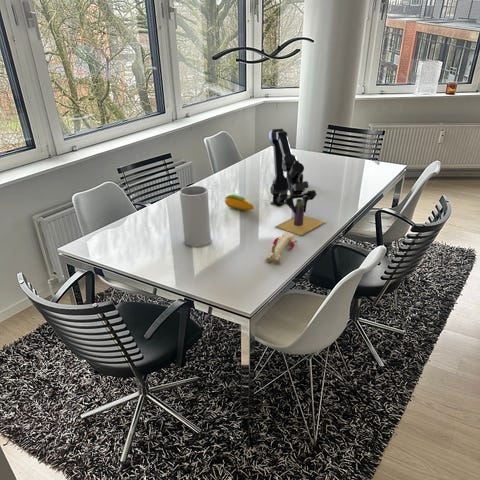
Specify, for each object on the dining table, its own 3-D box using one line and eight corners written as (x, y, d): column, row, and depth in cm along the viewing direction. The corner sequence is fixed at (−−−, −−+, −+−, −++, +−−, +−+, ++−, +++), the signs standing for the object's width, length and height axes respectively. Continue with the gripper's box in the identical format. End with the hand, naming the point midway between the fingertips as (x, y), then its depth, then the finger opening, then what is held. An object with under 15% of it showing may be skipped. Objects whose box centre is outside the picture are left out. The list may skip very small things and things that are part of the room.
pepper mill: (294, 221, 230) (295, 198, 223) (303, 222, 230) (305, 198, 222) (292, 225, 227) (294, 201, 219) (302, 226, 226) (304, 202, 218)
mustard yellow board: (299, 215, 242) (299, 214, 241) (324, 223, 233) (324, 222, 233) (275, 227, 230) (275, 226, 230) (301, 235, 221) (301, 235, 221)
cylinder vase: (200, 249, 211) (196, 197, 197) (179, 243, 217) (173, 192, 202) (215, 239, 220) (213, 188, 205) (195, 234, 225) (190, 184, 211)
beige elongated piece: (283, 267, 198) (300, 239, 215) (283, 250, 192) (301, 223, 210) (261, 263, 201) (280, 236, 219) (261, 246, 196) (280, 220, 213)
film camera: (308, 188, 276) (309, 171, 270) (288, 190, 273) (289, 173, 268) (297, 179, 290) (298, 163, 284) (279, 180, 288) (279, 165, 282)
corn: (229, 190, 253) (258, 197, 243) (231, 203, 258) (258, 211, 247) (221, 194, 249) (249, 202, 238) (222, 207, 254) (250, 216, 243)
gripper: (279, 177, 216) (285, 208, 214) (316, 173, 219) (323, 203, 217) (274, 188, 227) (280, 217, 225) (309, 184, 230) (315, 213, 228)
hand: (299, 212), depth 223 cm, fingers closed on pepper mill, 5 cm apart
